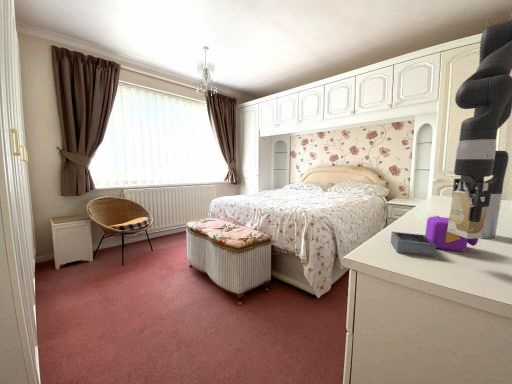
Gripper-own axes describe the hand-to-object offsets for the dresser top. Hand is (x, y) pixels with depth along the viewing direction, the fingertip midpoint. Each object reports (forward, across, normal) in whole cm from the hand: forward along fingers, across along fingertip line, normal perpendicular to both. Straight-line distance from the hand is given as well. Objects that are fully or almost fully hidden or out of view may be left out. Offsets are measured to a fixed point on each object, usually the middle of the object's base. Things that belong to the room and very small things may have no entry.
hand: (466, 217), depth 63 cm
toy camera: (+14, +16, -3) cm, 21 cm away
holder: (+13, +8, +10) cm, 18 cm away
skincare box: (+5, 0, 0) cm, 5 cm away
